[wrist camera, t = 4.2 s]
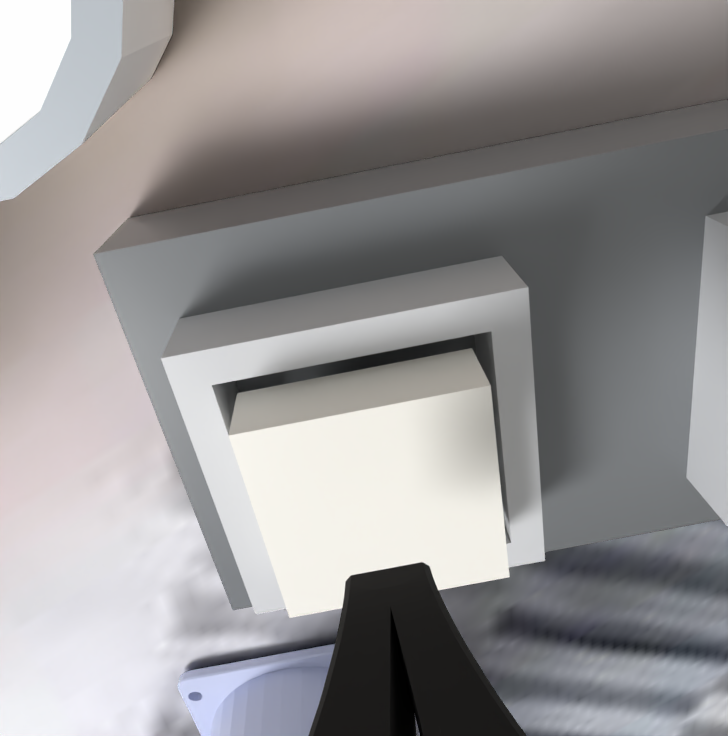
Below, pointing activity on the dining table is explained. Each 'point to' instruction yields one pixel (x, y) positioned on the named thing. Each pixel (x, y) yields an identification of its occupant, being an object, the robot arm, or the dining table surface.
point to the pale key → (374, 476)
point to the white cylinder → (69, 75)
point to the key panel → (462, 321)
